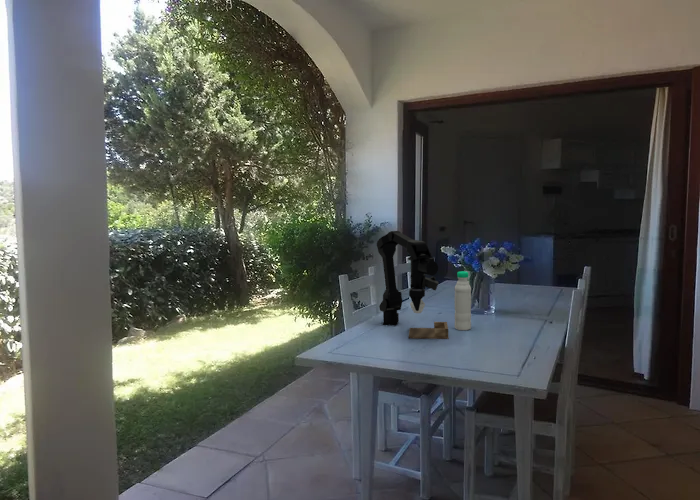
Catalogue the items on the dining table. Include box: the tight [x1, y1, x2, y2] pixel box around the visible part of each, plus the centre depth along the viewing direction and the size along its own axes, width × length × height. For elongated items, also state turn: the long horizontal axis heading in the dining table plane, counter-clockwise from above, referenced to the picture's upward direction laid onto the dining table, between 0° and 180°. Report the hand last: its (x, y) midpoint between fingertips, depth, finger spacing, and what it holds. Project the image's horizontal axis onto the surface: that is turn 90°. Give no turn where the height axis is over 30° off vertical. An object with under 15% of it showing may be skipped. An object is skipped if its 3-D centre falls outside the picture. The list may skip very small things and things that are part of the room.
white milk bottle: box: [454, 270, 472, 331], centre depth 212 cm, size 7×7×25 cm
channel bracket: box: [408, 321, 449, 340], centre depth 206 cm, size 16×14×4 cm
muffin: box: [409, 298, 426, 314], centre depth 204 cm, size 6×6×7 cm
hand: (417, 308), depth 204 cm, fingers closed on muffin, 6 cm apart
